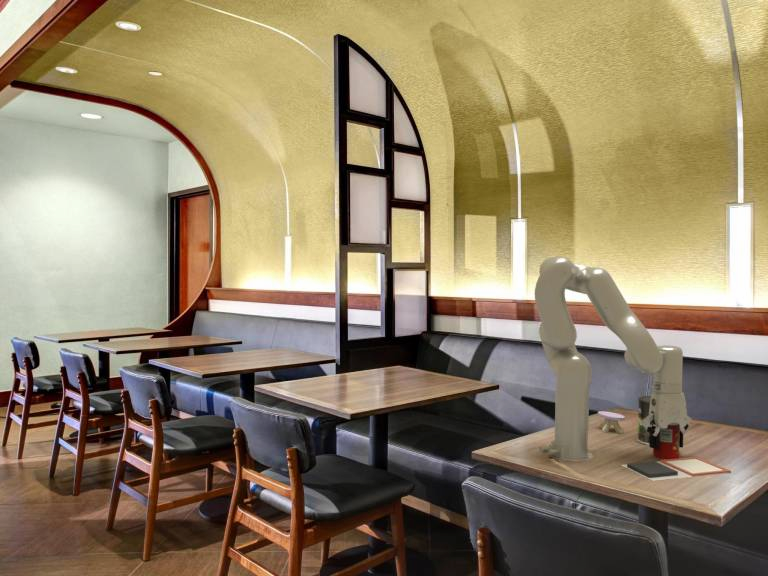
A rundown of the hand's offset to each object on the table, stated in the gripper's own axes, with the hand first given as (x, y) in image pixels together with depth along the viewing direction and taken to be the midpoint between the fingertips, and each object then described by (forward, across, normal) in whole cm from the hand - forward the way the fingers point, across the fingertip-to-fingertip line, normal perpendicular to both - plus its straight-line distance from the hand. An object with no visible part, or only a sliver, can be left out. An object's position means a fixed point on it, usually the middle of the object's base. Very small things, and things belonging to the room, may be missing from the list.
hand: (666, 447), depth 182 cm
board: (+4, -6, -10) cm, 12 cm away
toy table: (+4, +5, +33) cm, 34 cm away
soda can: (+4, 0, 0) cm, 4 cm away
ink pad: (+3, -13, -10) cm, 17 cm away
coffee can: (+4, +10, +17) cm, 20 cm away
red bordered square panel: (+3, +1, -10) cm, 10 cm away
